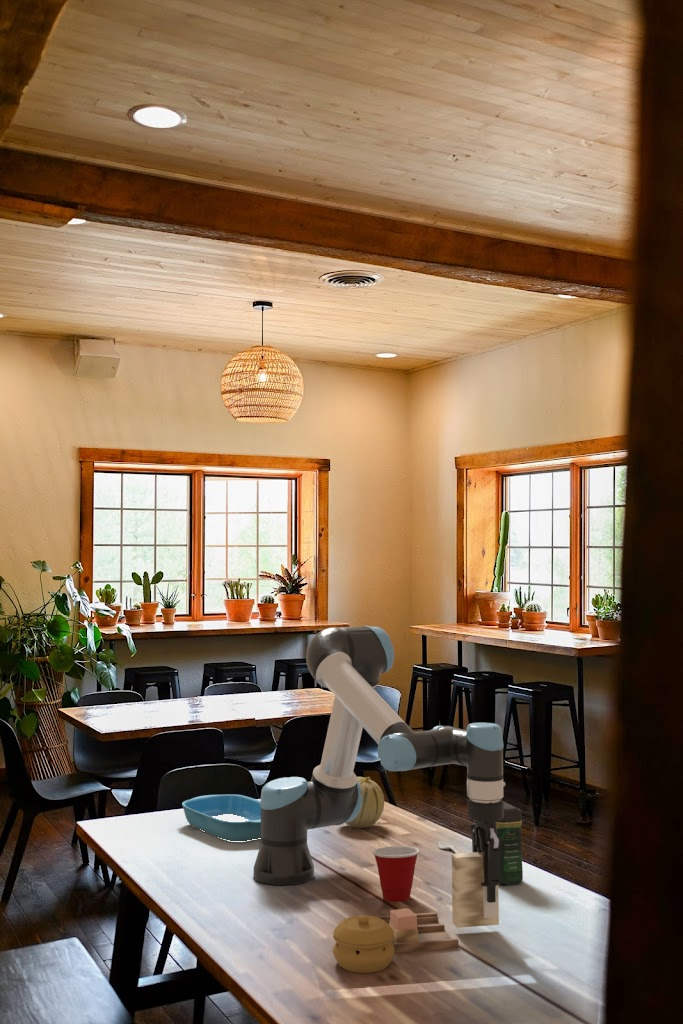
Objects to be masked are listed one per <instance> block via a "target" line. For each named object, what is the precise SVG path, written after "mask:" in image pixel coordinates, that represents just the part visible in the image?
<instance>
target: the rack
mask: <svg viewBox="0 0 683 1024" xmlns="http://www.w3.org/2000/svg"><path fill="white" fill-rule="evenodd" d="M415 914H416V915H417V929H418V941H413V942H399V943H393V941H392V942H391V943H392V945H393V947H394V954H395V953H405V952H406V953H407V952H419V951H420V952H421V951H423V952H424V951H434V950H435V951H437V950H446V949H458V948H459V939H458V938H457V937H456V938H452V937H450V935H449V933H448V932H447V931H446V930H445V929H446V928H445V924H444V923H440V922H439V916H438V912H423V913H415ZM376 917H377V918H380V919H382V920H384V921H385V922H387V923H388V924H389V921H390V915H379V916H378V915H377V916H376Z"/></svg>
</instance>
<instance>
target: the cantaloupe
mask: <svg viewBox="0 0 683 1024" xmlns="http://www.w3.org/2000/svg"><path fill="white" fill-rule="evenodd" d="M356 777H357V781H358V782H359V784H360V786H361V790H362V792H361V795H362V806H361V809H360V811H359V813H358V815H357V816H356V817H355V818H354V819H353V820H352V821H350V822H346V823H345V824H346V825H348V826H349V827H351V828H356V829H365V828H369V827H371V826H373V825H375V824H376V823H377V822H378V821H379V819H380V818H381V816H382V815H383V812H384V809H385V795H384V793H383V791H382V789H381V787H380V786H379V785H378V783H376V782H375V781H374V780H372V779H371V777H370V776H367V777H363V776H356Z"/></svg>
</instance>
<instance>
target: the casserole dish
mask: <svg viewBox="0 0 683 1024" xmlns="http://www.w3.org/2000/svg"><path fill="white" fill-rule="evenodd" d="M260 801H261V800H258V799H257V798H253V797H249V796H246V795H242V794H208V795H200V796H196V797H192V798H191V799H187V800H184V801H183V802H182V803H181V805H182V809H183V812H184V816H185V819H186V820H187V822H188V823H189V825H190V824H191V825H190V826H192V827H193V826H194V827H193V828H195V827H196V828H195V829H197V828H198V829H201V830H203V831H205V832H207V833H209V834H208V835H210V834H212V835H214V836H216V837H219V838H222V839H226V840H230V841H247V840H252V839H258V838H261V807H260ZM223 814H233V815H237V816H241V817H244V818H245V819H248V820H249V821H245V822H228V821H223V820H219V819H216V818H213V817H212V816H218V815H223ZM198 829H197V830H198ZM201 830H200V831H201ZM203 831H202V832H203ZM205 832H204V833H205ZM207 833H206V834H207ZM212 835H211V836H212ZM214 836H213V837H214ZM216 837H215V838H216ZM219 838H218V839H219ZM222 839H221V840H222Z"/></svg>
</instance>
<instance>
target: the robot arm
mask: <svg viewBox="0 0 683 1024" xmlns="http://www.w3.org/2000/svg"><path fill="white" fill-rule="evenodd" d="M305 654H306V655H305V659H306V666H307V668H308V669H307V670H308V671H309V673H310V674H311V676H312V678H313V679H314V680H315V682H317V684H319V686H321V687H322V688H327V689H328V690H329V691H330V692H331V693H332V694H333V695H334V698H333V699H334V700H333V704H332V709H331V713H330V717H329V723H328V726H327V732H326V737H325V741H324V746H323V751H322V756H321V761H320V764H319V765H317V766H315V767H314V768H313V771H312V774H311V780H310V781H307V779H305V778H304V777H299V776H290V777H286V776H284V777H279V778H276V779H273V780H270V781H269V782H267V783H265V784H264V785H263V786H262V789H261V792H260V793H261V794H260V800H259V801H260V807H261V839H260V846H259V850H258V853H257V855H256V858H255V861H254V866H253V876H254V877H253V879H254V880H255V881H257V882H259V883H262V884H267V885H273V886H275V885H276V886H286V885H287V886H290V885H297V884H303V883H306V882H308V881H311V880H312V879H313V878H314V877H315V866H314V863H313V858H312V855H311V853H310V850H309V849H310V848H309V846H308V831H309V830H314V829H318V828H325V827H329V826H341V825H343V824H346V822H350V821H352V820H353V819H354V818H355V817H356V816H357V815H358V813H359V811H360V809H361V806H362V795H361V792H362V790H361V786H360V784H359V782H358V781H357V777H358V776H357V775H356V774H355V772H354V769H355V765H356V760H357V757H358V756H357V755H358V751H359V747H360V741H361V737H362V733H363V729H364V730H365V731H366V732H367V734H368V735H369V736H370V737H371V738H372V739H373V740H374V741H375V743H376V744H377V745H378V746H377V757H378V759H379V760H380V764H381V766H382V768H384V769H385V770H386V771H389V772H406V771H411V770H412V771H413V770H417V769H424V768H429V767H430V768H431V767H438V766H445V765H451V764H453V765H454V764H455V765H457V766H463V767H466V768H467V769H466V771H467V772H466V796H467V798H469V799H468V800H467V817H468V818H469V819H471V820H473V821H475V823H471V824H470V831H471V832H470V833H471V845H472V851H471V852H472V853H474V852H483V865H484V883H481V885H482V886H483V917H484V918H494V917H497V887H496V886H497V885H498V886H500V885H501V847H502V838H497V837H498V829H497V828H496V822H497V821H498V820H501V819H503V817H504V802H505V801H504V802H503V798H504V787H506V782H505V781H504V745H505V744H504V739H503V730H502V727H501V726H500V725H499V724H497V723H494V722H472V723H469V724H468V725H467V726H466V729H462V728H457V727H455V726H452V725H436V726H434V727H433V728H432V729H430V730H423V731H422V730H421V731H420V730H419V731H414V730H413V729H412V728H411V726H409V725H408V724H407V723H406V722H405V720H403V718H402V717H400V715H399V714H398V713H397V712H396V711H395V710H394V709H393V708H392V707H391V706H390V705H389V704H388V702H386V701H385V699H383V697H382V696H381V695H380V694H379V693H378V692H377V691H376V690H375V688H376V687H377V686H378V685H379V683H380V678H381V674H385V673H387V672H389V671H390V670H391V669H392V667H393V665H394V660H395V650H394V646H393V643H392V640H391V637H390V636H389V634H388V633H387V631H385V630H384V629H383V628H381V627H379V626H369V625H363V626H347V627H345V626H344V627H327V628H325V629H322V630H321V631H319V632H317V633H316V634H315V635H314V636H313V637H312V638H311V640H310V641H309V644H308V645H307V649H306V653H305Z"/></svg>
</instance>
